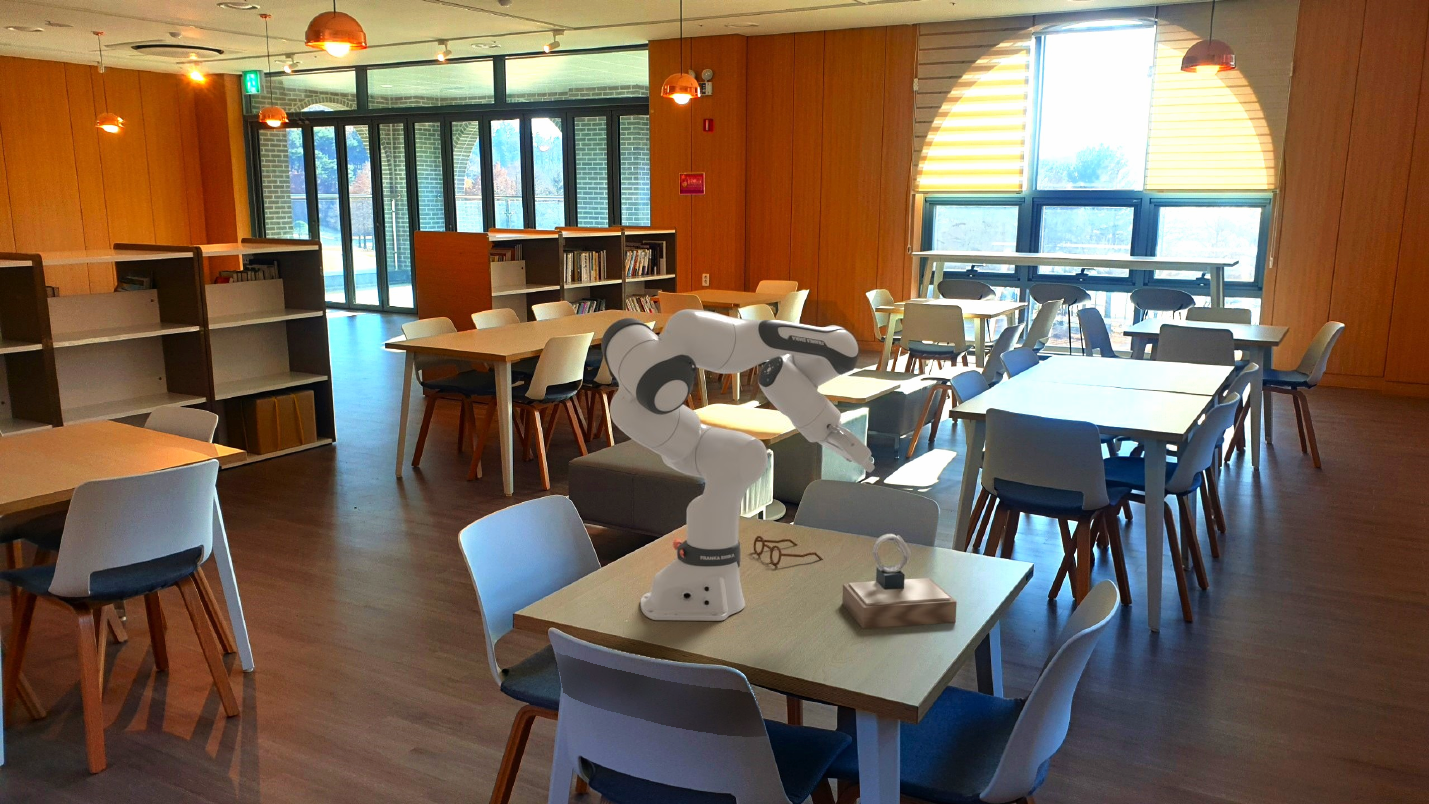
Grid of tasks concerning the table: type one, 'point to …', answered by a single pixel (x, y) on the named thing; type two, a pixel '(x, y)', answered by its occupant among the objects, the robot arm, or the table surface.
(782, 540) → the glasses
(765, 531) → the table surface
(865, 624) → the display riser
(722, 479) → the robot arm
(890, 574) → the watch
